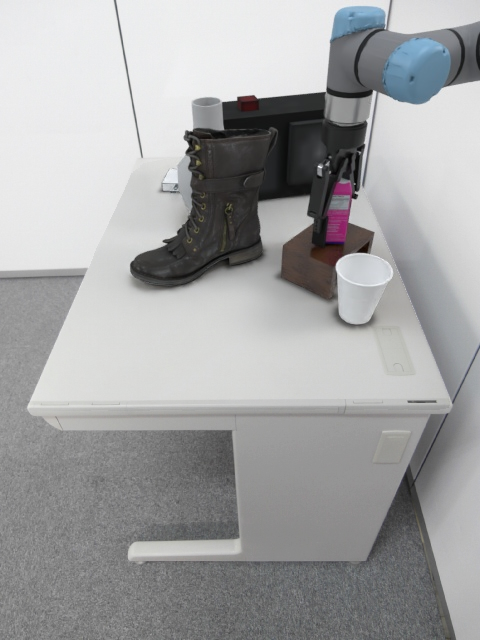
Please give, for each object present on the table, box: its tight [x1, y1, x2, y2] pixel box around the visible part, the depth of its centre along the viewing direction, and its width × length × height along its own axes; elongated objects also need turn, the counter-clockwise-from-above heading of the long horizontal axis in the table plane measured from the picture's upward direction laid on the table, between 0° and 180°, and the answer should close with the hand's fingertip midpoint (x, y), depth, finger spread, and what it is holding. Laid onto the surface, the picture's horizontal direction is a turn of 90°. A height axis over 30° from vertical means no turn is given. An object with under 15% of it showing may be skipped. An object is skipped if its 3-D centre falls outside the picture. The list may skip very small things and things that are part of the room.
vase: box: [176, 96, 224, 212], centre depth 103 cm, size 17×16×28 cm
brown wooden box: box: [280, 221, 376, 300], centre depth 93 cm, size 12×16×8 cm
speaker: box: [222, 91, 336, 202], centre depth 116 cm, size 15×35×24 cm, turn 104°
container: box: [161, 168, 180, 194], centre depth 127 cm, size 20×11×3 cm, turn 173°
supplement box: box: [325, 178, 352, 244], centre depth 86 cm, size 6×6×12 cm
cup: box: [336, 253, 394, 325], centre depth 81 cm, size 10×10×11 cm
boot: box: [129, 127, 278, 287], centre depth 89 cm, size 12×33×29 cm, turn 117°
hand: (329, 235), depth 90 cm, fingers closed on supplement box, 8 cm apart
